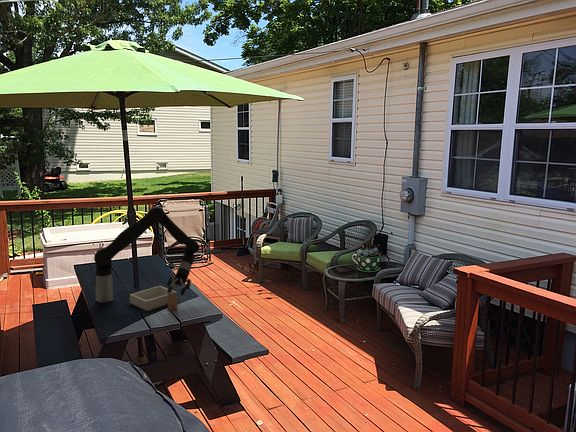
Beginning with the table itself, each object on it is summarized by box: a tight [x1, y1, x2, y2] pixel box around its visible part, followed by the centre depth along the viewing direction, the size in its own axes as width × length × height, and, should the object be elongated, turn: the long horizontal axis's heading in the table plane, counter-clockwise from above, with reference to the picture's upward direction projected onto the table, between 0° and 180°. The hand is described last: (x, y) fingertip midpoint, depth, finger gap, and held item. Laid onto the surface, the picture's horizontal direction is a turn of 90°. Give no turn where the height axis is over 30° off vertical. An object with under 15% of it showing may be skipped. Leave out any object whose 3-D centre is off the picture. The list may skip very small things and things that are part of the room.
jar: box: [167, 291, 178, 312], centre depth 275 cm, size 6×6×10 cm
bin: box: [129, 285, 178, 312], centre depth 286 cm, size 22×18×6 cm
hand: (175, 293), depth 278 cm, fingers open, 8 cm apart
